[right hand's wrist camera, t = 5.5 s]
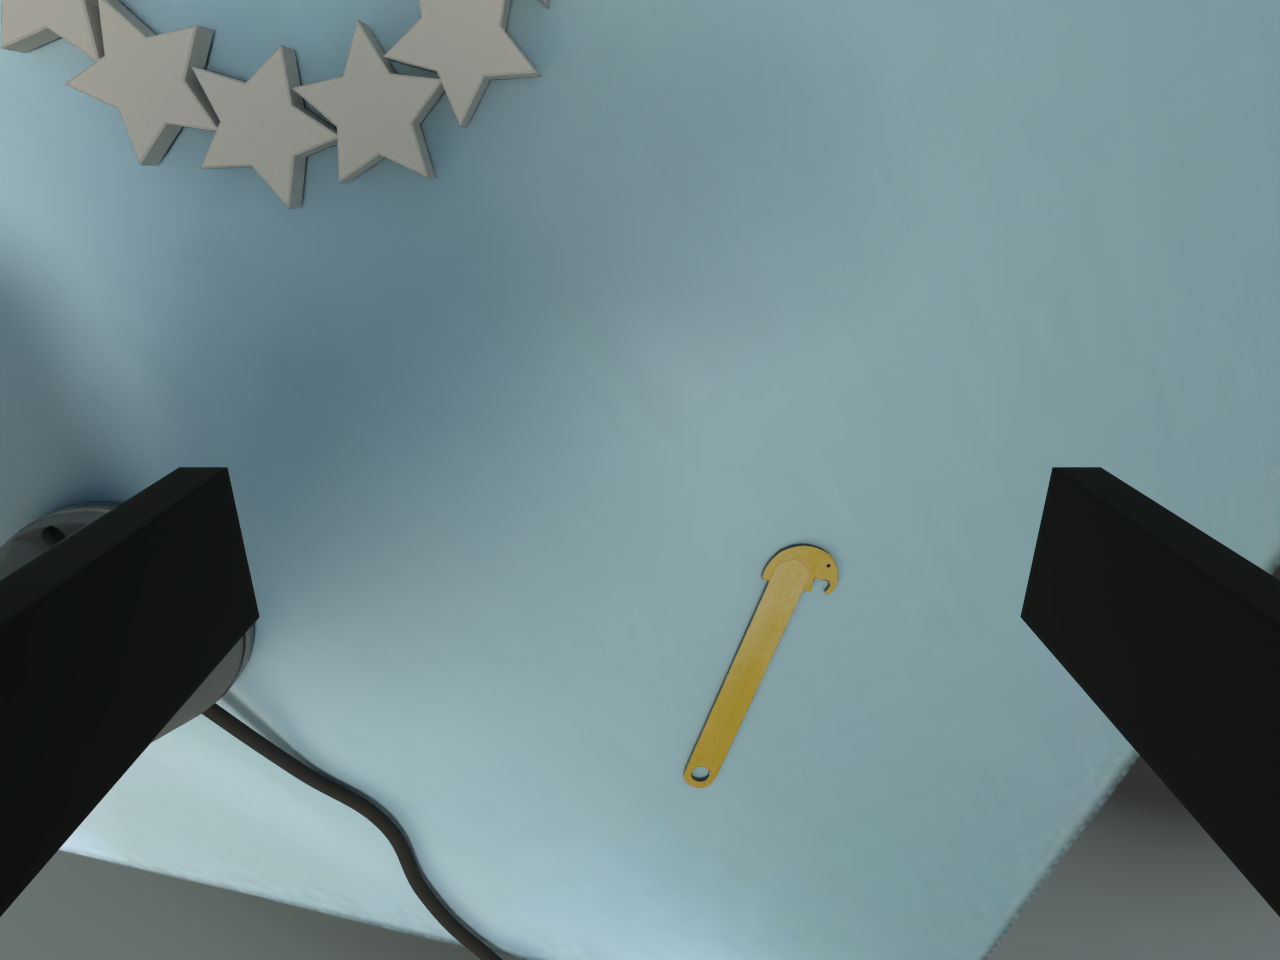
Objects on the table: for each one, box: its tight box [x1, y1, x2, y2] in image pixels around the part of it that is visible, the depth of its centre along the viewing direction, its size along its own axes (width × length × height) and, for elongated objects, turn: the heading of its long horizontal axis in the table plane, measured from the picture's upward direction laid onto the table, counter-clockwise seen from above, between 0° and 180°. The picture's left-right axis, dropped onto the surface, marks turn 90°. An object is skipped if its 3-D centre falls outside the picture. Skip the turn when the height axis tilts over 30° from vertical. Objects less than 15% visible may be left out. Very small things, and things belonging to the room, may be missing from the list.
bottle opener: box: [684, 545, 838, 788], centre depth 50 cm, size 5×1×20 cm
